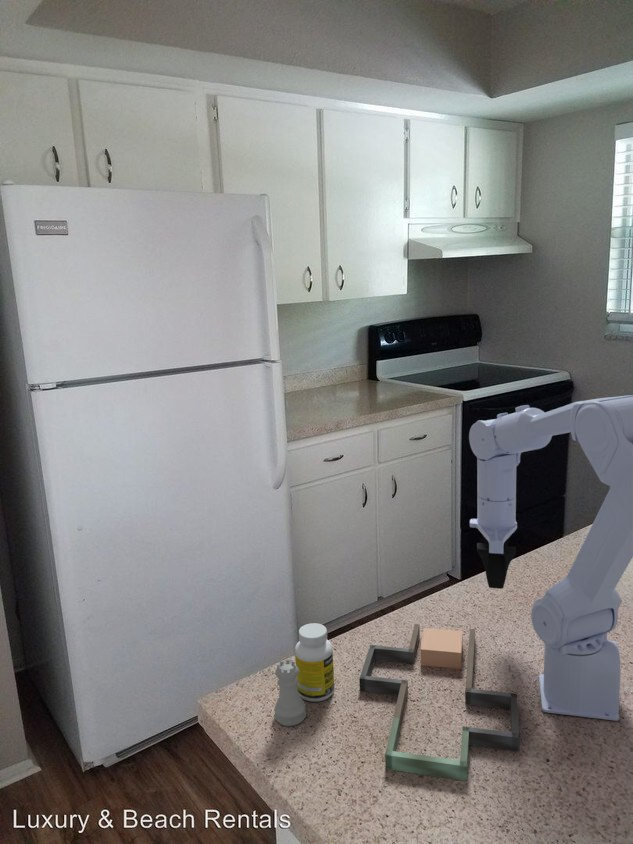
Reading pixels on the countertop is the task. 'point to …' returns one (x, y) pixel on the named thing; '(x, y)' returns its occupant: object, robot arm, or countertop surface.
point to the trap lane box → (469, 734)
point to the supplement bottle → (314, 663)
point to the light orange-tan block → (441, 648)
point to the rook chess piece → (289, 696)
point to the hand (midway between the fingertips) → (496, 576)
